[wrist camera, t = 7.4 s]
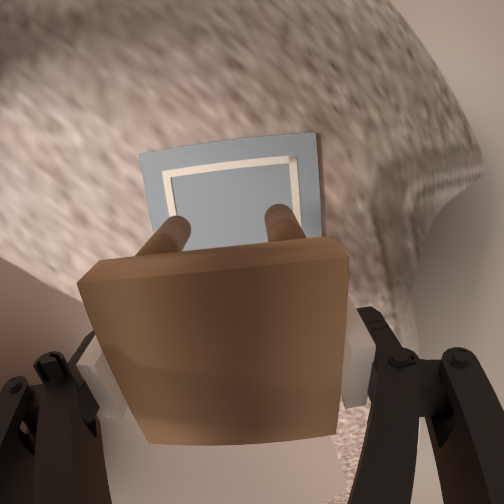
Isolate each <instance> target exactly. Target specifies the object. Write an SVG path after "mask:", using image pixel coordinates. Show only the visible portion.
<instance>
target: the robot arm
mask: <svg viewBox="0 0 504 504" xmlns="http://www.w3.org/2000/svg"><path fill="white" fill-rule="evenodd" d="M33 366H34V368H35V370H36V372H37V373H38V375H39V377H40V379H41V380H42V382H43V384H39V385H32V386H31V385H30V384H29V382H28V380H27V379H26V378H25V377H22V376H18V377H13V378H11V379H10V380H9V381H7V382H6V383H5V385H4V386H3V388H2V390H1V391H0V504H112V501H111V496H110V491H109V485H108V480H107V473H106V467H105V460H104V452H103V445H102V435H101V426H100V421H99V419H98V417H97V416H96V415H97V412H98V410H99V408H100V410H101V411H102V413H103V415H104V416H105V417H106V418H113V419H123V416H124V413H125V411H126V408H127V405H128V404H127V402H126V400H125V398H124V396H123V394H122V392H121V390H120V388H119V386H118V384H117V382H116V379H115V377H114V375H113V373H112V371H111V369H110V367H109V364H108V362H107V360H106V358H105V355H104V353H103V351H102V349H101V347H100V344H99V342H98V340H97V337H96V335H95V332H94V330H93V331H92V332H91V333H90V334H88V335H87V336H86V337H85V338H84V340H83V341H82V343H81V346H79V347H78V349H77V352H75V353H74V355H73V356H72V358H71V359H70V361H69V362H68V364H67V362H66V360H65V358H64V356H63V354H61V353H60V352H56V351H54V352H49V353H46V354H44V355H42V356H40V357H39V358H38V359H37V360H36V361H35V363H34V365H33ZM340 393H341V397H342V400H343V403H344V406H345V409H347V408H353V407H358V406H363V405H366V402H367V397H368V396H369V398H370V401H371V403H372V404H371V408H370V413H369V417H368V421H367V428H366V433H365V437H364V442H363V446H362V451H361V455H360V459H359V463H358V467H357V471H356V475H355V479H354V482H353V486H352V489H351V493H350V496H349V500H348V503H347V504H410V502H411V496H412V489H413V482H414V474H415V466H416V456H417V445H418V431H419V417H425V420H426V424H427V428H428V432H429V435H430V440H431V444H432V448H433V452H434V457H435V461H436V466H437V470H438V475H439V480H440V485H441V491H442V496H443V502H444V504H504V411H503V409H502V407H501V404H500V402H499V400H498V398H497V396H496V394H495V392H494V390H493V388H492V386H491V384H490V382H489V380H488V378H487V376H486V374H485V372H484V370H483V368H482V367H481V365H480V363H479V361H478V359H477V358H476V356H475V355H474V354H473V353H472V352H471V351H469V350H467V349H464V348H460V347H458V348H457V347H454V348H450V349H448V350H446V351H445V352H444V353H443V356H442V359H441V360H423V359H419V358H418V356H417V355H416V353H415V352H413V351H411V350H409V349H407V348H402V346H401V344H400V343H399V341H398V339H397V338H396V336H395V335H394V333H393V332H392V330H391V328H390V327H389V325H388V324H387V322H386V321H385V319H384V317H383V316H382V314H381V313H380V312H379V311H377V310H376V309H374V308H373V307H371V306H370V307H363V308H355V306H354V304H353V302H352V301H351V299H350V297H349V295H348V303H347V323H346V334H345V346H344V359H343V371H342V382H341V391H340ZM21 422H22V423H23V424H24V426H25V427H26V428H27V429H26V431H25V433H23V432H22V431H21V430H20V428H19V427H20V425H21Z"/></svg>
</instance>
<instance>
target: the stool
mask: <svg viewBox="0 0 504 504" xmlns="http://www.w3.org/2000/svg"><path fill="white" fill-rule="evenodd" d="M264 220H265V226H266V232H267V237H268V242H265V243H256V244H246V245H236V246H227V247H217V248H208V249H199V250H189V251H182V250H183V248H184V246H185V244H186V242H187V241H188V239H189V237H190V235H191V225H190V223H189V222H188V220H187V219H185V218H184V217H182V216H177V215H176V216H171V217H169V218H168V219H167V220H166V221H165V222H164V223H163V224H162V225H161V227H160V228H159V229H158V230H157V231H156V232H155V233H154V235H153V236H152V237H151V238H150V239H149V240H148V241H147V243H146V244H145V245H144V246H143V247H142V248H141V250H140V251H139V252H138V253H137V254H136V255H135V257H126V258H117V259H108V260H99V261H98V262H97V263H96V264H95V265H94V266H93V267H92V268H91V269H90V270H89V271H88V272H87V273H86V274H85V275H84V276H83V277H82V278H81V279H80V280H79V281H78V282H77V286H78V289H79V292H80V295H81V297H82V300H83V303H84V306H85V309H86V311H87V314H88V317H89V319H90V322H91V325H92V327H93V330H94V332H95V335H96V337H97V340H98V342H99V344H100V347H101V349H102V351H103V353H104V355H105V358H106V360H107V362H108V364H109V367H110V369H111V371H112V373H113V375H114V377H115V379H116V382H117V384H118V386H119V388H120V390H121V392H122V394H123V396H124V398H125V400H126V402H127V404H128V406H129V408H130V410H131V412H132V414H133V416H134V417H135V419H136V421H137V423H138V425H139V426H140V428H141V430H142V432H143V433H144V435H145V437H146V439H147V440H148V442H149V443H152V444H168V445H244V444H259V443H271V442H283V441H292V440H300V439H308V438H315V437H322V436H328V435H334V434H336V428H337V420H338V413H339V404H340V396H341V393H340V391H341V382H342V371H343V359H344V346H345V334H346V323H347V303H348V270H349V256H348V255H347V254H346V252H345V251H344V250H343V248H342V247H341V246H340V244H339V243H338V242H337V241H336V239H335V238H334V237H333V236H324V237H314V238H307V237H306V236H305V234H304V232H303V230H302V228H301V226H300V224H299V223H298V221H297V219H296V217H295V215H294V213H293V212H292V210H291V209H290V208H289V207H288V206H287V205H284V204H275V205H272V206H271V207H269V208H268V209H267V211H266V213H265V216H264Z"/></svg>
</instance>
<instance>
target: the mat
mask: <svg viewBox="0 0 504 504" xmlns="http://www.w3.org/2000/svg"><path fill="white" fill-rule="evenodd" d="M139 155H140V162H141V168H142V174H143V180H144V186H145V192H146V198H147V203H148V208H149V214H150V219H151V224H152V229H153V234H154V233H155V232H156V231H157V230H158V229H159V228H160V227H161V225H162V224H163V223H164V222H165V221H166V220H167V219H168V218H169V217H171V216H176V215H177V216H182V217H184V218H185V219H187V220H188V222H189V223H190V225H191V235H190V237H189V239H188V241H187V242H186V244H185V246H184V248H183V250H182V251H189V250H199V249H208V248H217V247H227V246H236V245H246V244H256V243H265V242H268V237H267V232H266V226H265V220H264V216H265V213H266V211H267V209H268V208H269V207H271V206H272V205H275V204H284V205H287V206H288V207H289V208H290V209H291V210H292V212H293V213H294V215H295V217H296V219H297V221H298V223H299V224H300V226H301V228H302V230H303V232H304V234H305V236H306V237H307V238H314V237H322V226H321V204H320V186H319V170H318V157H317V144H316V132H312V133H296V134H282V135H270V136H259V137H249V138H240V139H232V140H224V141H216V142H209V143H202V144H195V145H188V146H182V147H176V148H170V149H164V150H159V151H153V152H148V153H143V154H139Z"/></svg>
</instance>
